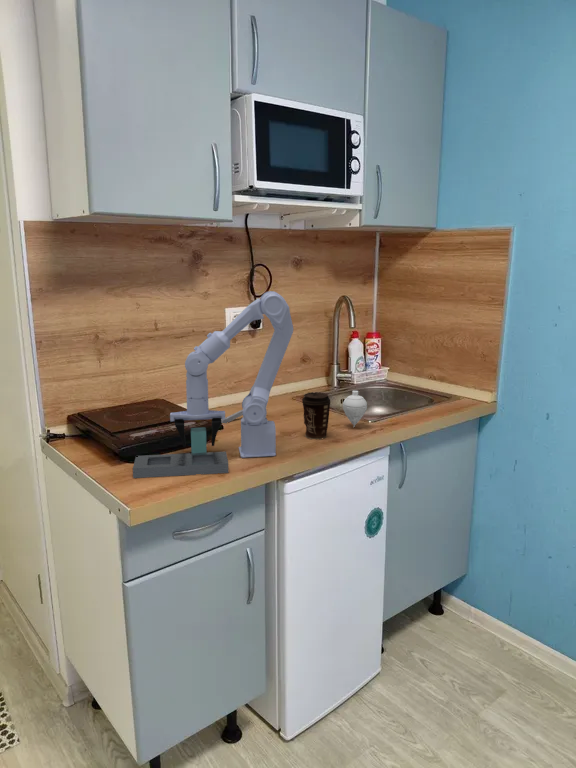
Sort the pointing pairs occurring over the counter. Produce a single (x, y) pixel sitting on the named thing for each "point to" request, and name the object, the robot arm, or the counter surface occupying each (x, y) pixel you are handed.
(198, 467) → the peg socket board
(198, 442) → the square peg
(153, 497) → the counter surface
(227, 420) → the caliper
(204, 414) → the robot arm
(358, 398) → the spinning top
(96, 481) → the counter surface
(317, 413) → the coffee cup
